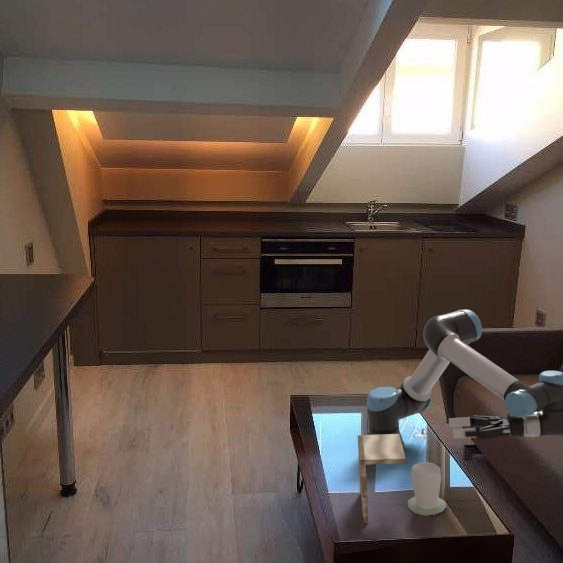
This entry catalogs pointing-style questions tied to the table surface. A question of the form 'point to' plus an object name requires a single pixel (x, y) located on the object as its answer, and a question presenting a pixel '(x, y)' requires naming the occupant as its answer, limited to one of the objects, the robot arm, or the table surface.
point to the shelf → (377, 458)
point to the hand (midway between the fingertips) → (451, 428)
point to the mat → (426, 512)
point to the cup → (426, 484)
